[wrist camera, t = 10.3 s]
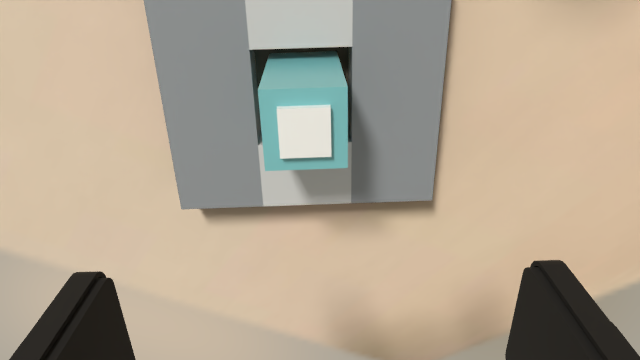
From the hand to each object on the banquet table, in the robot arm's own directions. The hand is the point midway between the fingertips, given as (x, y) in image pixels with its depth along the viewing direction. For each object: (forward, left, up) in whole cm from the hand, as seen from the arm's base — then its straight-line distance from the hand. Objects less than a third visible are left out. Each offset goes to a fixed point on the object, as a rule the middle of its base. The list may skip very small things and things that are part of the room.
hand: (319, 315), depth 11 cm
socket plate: (0, 0, -20) cm, 20 cm away
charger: (0, 0, -20) cm, 20 cm away
